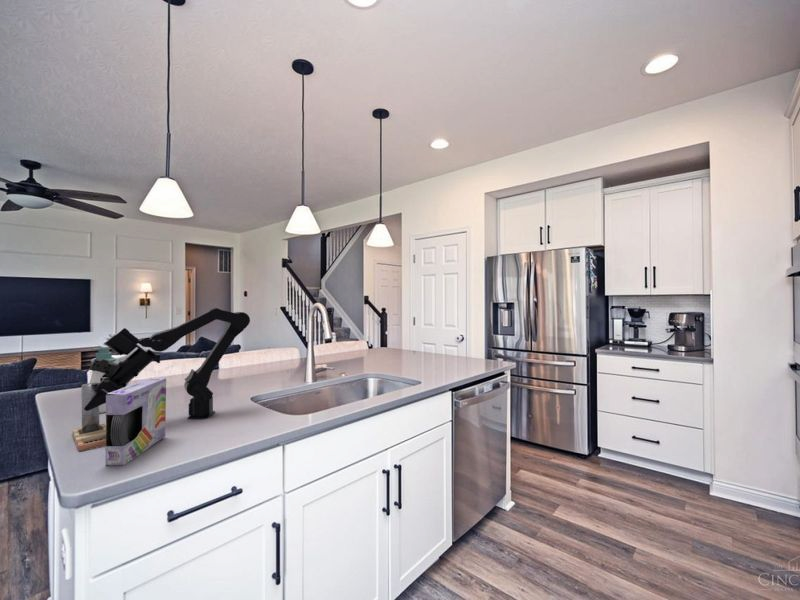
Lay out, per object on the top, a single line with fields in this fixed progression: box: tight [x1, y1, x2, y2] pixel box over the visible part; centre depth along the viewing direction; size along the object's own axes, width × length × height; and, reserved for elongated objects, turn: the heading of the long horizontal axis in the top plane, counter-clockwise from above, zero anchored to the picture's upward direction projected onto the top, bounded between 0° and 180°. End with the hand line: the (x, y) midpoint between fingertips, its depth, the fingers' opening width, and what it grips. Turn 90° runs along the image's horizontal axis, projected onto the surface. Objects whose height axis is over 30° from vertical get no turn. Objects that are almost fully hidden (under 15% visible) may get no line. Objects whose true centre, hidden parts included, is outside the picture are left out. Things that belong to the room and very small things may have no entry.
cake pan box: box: [104, 376, 167, 466], centre depth 95 cm, size 19×5×18 cm, turn 4°
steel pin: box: [81, 382, 100, 434], centre depth 108 cm, size 4×4×15 cm
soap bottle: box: [88, 346, 116, 414], centre depth 133 cm, size 10×10×23 cm
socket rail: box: [72, 423, 106, 452], centre depth 104 cm, size 18×8×2 cm, turn 46°
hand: (86, 406), depth 107 cm, fingers open, 9 cm apart
